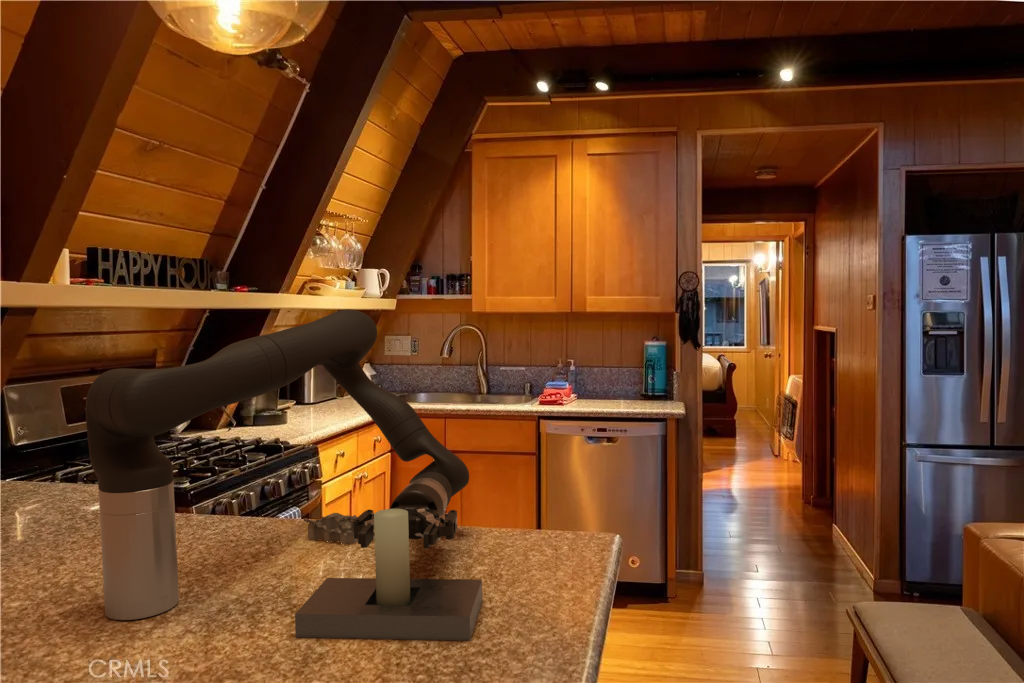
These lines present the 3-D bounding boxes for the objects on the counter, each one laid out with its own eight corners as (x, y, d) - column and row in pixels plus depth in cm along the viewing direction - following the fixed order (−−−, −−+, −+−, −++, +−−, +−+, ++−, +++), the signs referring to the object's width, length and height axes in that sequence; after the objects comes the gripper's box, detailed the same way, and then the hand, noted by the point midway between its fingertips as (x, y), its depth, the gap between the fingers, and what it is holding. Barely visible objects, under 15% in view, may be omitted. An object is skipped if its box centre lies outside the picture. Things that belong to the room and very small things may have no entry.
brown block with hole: (295, 637, 91) (294, 614, 91) (327, 598, 103) (327, 577, 103) (470, 640, 89) (469, 616, 89) (482, 600, 101) (481, 579, 101)
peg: (370, 617, 96) (367, 513, 96) (398, 608, 99) (396, 506, 99) (388, 628, 93) (385, 520, 92) (417, 618, 96) (414, 513, 95)
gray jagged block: (301, 541, 130) (300, 518, 130) (329, 528, 137) (328, 507, 136) (349, 548, 125) (348, 524, 125) (375, 535, 132) (374, 513, 132)
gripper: (374, 483, 114) (341, 513, 97) (465, 483, 112) (446, 513, 96) (376, 530, 114) (343, 568, 98) (466, 531, 113) (448, 569, 97)
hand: (394, 541), depth 97 cm, fingers open, 8 cm apart
